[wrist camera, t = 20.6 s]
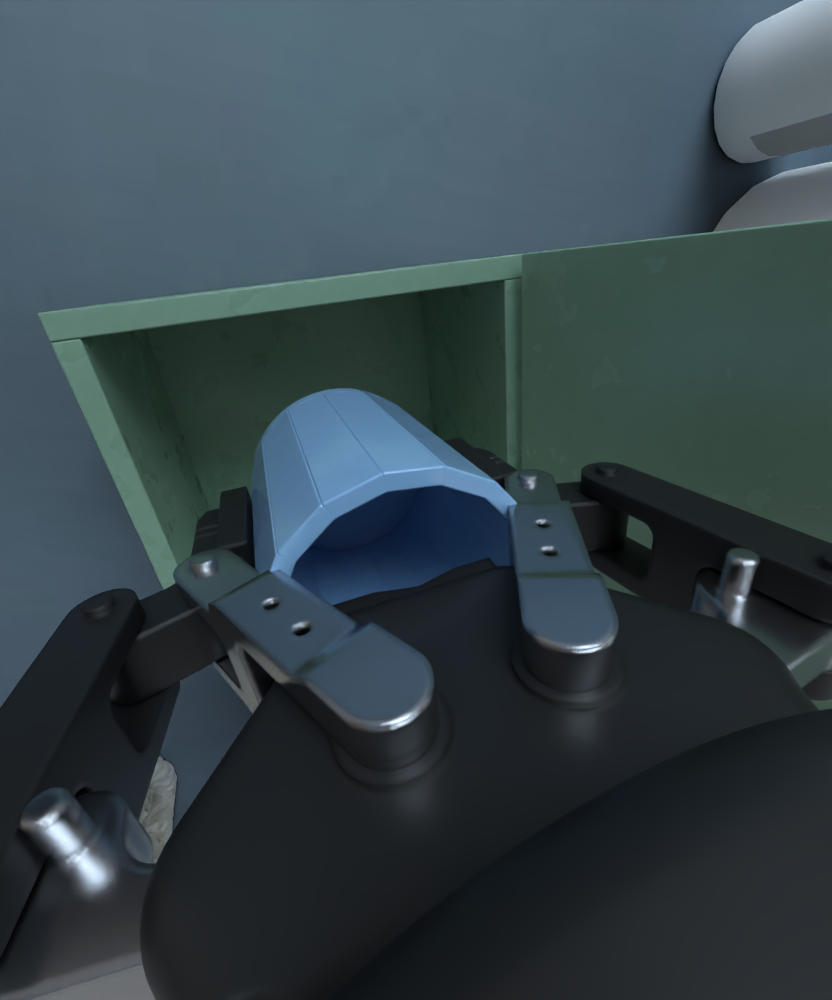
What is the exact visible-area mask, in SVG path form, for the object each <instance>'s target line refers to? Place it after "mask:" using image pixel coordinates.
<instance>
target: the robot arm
mask: <svg viewBox="0 0 832 1000" xmlns="http://www.w3.org/2000/svg"><path fill="white" fill-rule="evenodd" d="M444 442H446V443H447V444H448V445H449V446H451V447H452V448H453V449H455V450H456V451H457V452H458V453H460V454H461V455H462V456H464V457H465V458H466V459H467V460H469V461H470V462H471V463H473V464H474V465H475V466H477V467H478V468H479V469H480V470H482V471H483V472H484V473H486V474H487V475H488V476H489V477H491V478H492V479H493V480H495V481H496V482H497V483H498V484H499V485H500V486H501V487H502V488H503V489H504V490H505V491H506V492H507V493H508V494H509V495H510V496H511V497H512V498H513V499H514V500H515V501H516V502H517V504H514V505H510V506H509V522H508V551H509V566H496V565H495V564H494V563H493V561H492V560H491V559H490V558H489V557H488V558H485V559H482V560H478V561H475V562H472V563H469V564H465V565H462V566H459V567H455V568H453V569H451V570H449V571H447V572H445V573H443V574H441V575H439V576H437V577H435V578H433V579H431V580H430V581H428V582H426V583H424V584H422V585H420V586H416V587H410V588H403V589H395V590H388V591H380V592H374V593H370V594H367V595H364V596H360V597H357V598H354V599H351V600H347V601H344V602H341V603H337V604H334V605H331V604H330V603H328V602H327V601H325V600H324V599H322V598H321V597H319V596H318V595H316V594H315V593H313V592H312V591H311V590H309V589H308V588H306V587H305V586H303V585H302V584H300V583H299V582H297V581H296V580H294V579H293V578H291V577H290V576H289V575H287V574H286V573H284V572H283V571H281V570H280V569H279V570H275V571H269V570H267V571H266V572H264V573H262V574H260V575H259V571H257V570H256V569H255V555H254V533H253V512H252V501H251V497H250V494H249V491H248V489H247V487H246V486H244V487H240V488H235V489H231V490H226V491H222V492H221V495H220V505H219V508H218V509H214V510H210V511H206V512H205V513H204V514H203V516H202V517H201V518H200V519H199V520H198V521H197V526H196V532H195V537H194V538H195V539H194V542H193V548H192V553H191V556H190V557H188V558H187V559H185V560H184V561H182V562H181V563H180V564H179V565H178V566H177V567H176V568H175V570H174V572H173V578H174V580H175V582H176V583H174V584H173V585H171V586H170V587H168V588H166V589H164V590H162V591H160V592H158V593H156V594H153V595H151V596H149V597H147V598H144V599H142V600H140V601H139V599H138V597H137V595H136V593H135V592H134V591H133V590H131V589H124V588H122V589H113V590H109V591H105V592H102V593H100V594H97V595H95V596H93V597H91V598H89V599H87V600H85V601H83V602H82V603H80V604H79V605H77V606H76V607H75V608H73V609H72V610H71V611H70V612H69V613H68V614H67V616H66V617H65V618H64V620H63V621H62V622H61V624H60V625H59V627H58V628H57V629H56V631H55V632H54V634H53V635H52V636H51V638H50V639H49V641H48V642H47V643H46V645H45V646H44V648H43V649H42V650H41V652H40V653H39V655H38V656H37V657H36V659H35V660H34V662H33V663H32V664H31V666H30V667H29V669H28V670H27V671H26V673H25V674H24V676H23V677H22V678H21V680H20V681H19V683H18V684H17V685H16V687H15V688H14V690H13V691H12V692H11V694H10V695H9V697H8V698H7V699H6V701H5V702H4V704H3V705H2V706H1V708H0V1000H832V709H825V710H819V709H818V708H817V707H816V706H815V705H814V703H813V702H812V701H811V700H818V701H823V700H830V699H832V543H829V542H826V541H824V540H821V539H818V538H816V537H813V536H810V535H808V534H805V533H803V532H800V531H797V530H795V529H792V528H789V527H787V526H784V525H781V524H779V523H776V522H773V521H771V520H768V519H765V518H763V517H760V516H758V515H755V514H752V513H750V512H747V511H744V510H742V509H739V508H736V507H734V506H731V505H728V504H726V503H723V502H720V501H718V500H715V499H712V498H710V497H707V496H705V495H702V494H699V493H697V492H694V491H691V490H689V489H686V488H683V487H681V486H678V485H675V484H673V483H670V482H667V481H665V480H662V479H659V478H657V477H654V476H652V475H649V474H646V473H644V472H641V471H638V470H636V469H633V468H630V467H628V466H625V465H622V464H618V463H612V462H597V463H592V464H588V465H586V466H584V467H583V468H582V470H581V481H579V482H568V483H555V480H554V477H553V476H552V475H551V474H550V473H548V472H545V471H542V470H536V469H522V470H517V469H515V468H514V467H512V466H511V465H509V464H508V463H507V462H504V460H502V459H501V458H498V457H497V456H496V455H495V454H493V453H492V452H490V451H488V450H484V449H480V448H474V447H472V446H471V445H470V444H468V443H467V442H465V441H464V440H462V439H461V438H455V439H451V440H446V441H444ZM629 515H630V516H632V517H634V518H636V519H638V520H640V521H642V522H644V523H645V524H646V525H647V526H648V527H649V528H650V530H651V532H652V535H653V542H652V548H651V549H649V548H647V547H645V546H644V545H642V544H640V543H638V542H636V541H634V540H632V539H630V538H629V537H627V536H626V534H627V526H628V518H629ZM593 567H594V568H595V569H597V570H598V571H600V572H601V573H603V574H605V575H606V576H608V577H609V578H611V579H612V580H614V581H615V582H617V583H618V584H620V585H622V586H623V587H625V588H626V589H628V590H629V591H631V592H632V593H634V594H636V595H637V596H635V595H631V594H628V593H624V592H620V591H617V590H613V589H610V588H607V587H606V584H605V582H604V579H603V577H602V575H601V574H599V573H595V571H594V569H593ZM638 596H639V597H638ZM209 664H212V665H213V667H214V668H215V669H216V670H217V671H218V672H219V674H220V675H221V676H222V677H223V678H224V679H225V681H226V682H227V683H228V684H229V685H230V686H231V688H232V689H233V690H234V691H235V692H236V693H237V695H238V696H239V697H240V698H241V699H242V700H243V702H244V703H245V704H246V706H247V707H248V708H249V710H250V712H251V713H252V716H251V717H250V719H249V720H248V721H247V723H246V724H245V726H244V727H243V729H242V730H241V732H240V733H239V735H238V736H237V738H236V739H235V741H234V742H233V744H232V745H231V747H230V748H229V750H228V751H227V752H226V754H225V755H224V757H223V758H222V760H221V761H220V763H219V764H218V766H217V767H216V769H215V770H214V772H213V773H212V775H211V776H210V778H209V779H208V780H207V782H206V783H205V785H204V786H203V788H202V789H201V791H200V792H199V794H198V795H197V797H196V798H195V800H194V801H193V803H192V804H191V806H190V807H189V808H188V810H187V811H186V813H185V814H184V816H183V817H182V819H181V820H180V822H179V823H178V825H177V826H176V828H175V829H174V831H173V833H172V834H171V836H170V837H169V839H168V841H167V842H166V844H165V845H164V847H163V850H162V852H161V854H160V856H159V858H158V860H157V862H156V863H152V858H153V844H152V840H151V838H150V836H149V834H148V833H147V832H146V830H145V829H144V827H143V826H142V824H141V823H140V822H139V818H140V815H141V811H142V808H143V805H144V802H145V799H146V795H147V792H148V789H149V786H150V782H151V779H152V776H153V773H154V770H155V766H156V763H157V760H158V757H159V754H160V750H161V747H162V744H163V741H164V738H165V734H166V731H167V728H168V725H169V722H170V718H171V715H172V712H173V709H174V706H175V702H176V699H177V696H178V693H179V689H180V682H179V681H180V680H182V679H184V678H186V677H188V676H189V675H191V674H193V673H195V672H197V671H199V670H200V669H202V668H204V667H206V666H208V665H209Z"/></svg>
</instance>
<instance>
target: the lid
mask: <svg viewBox="0 0 832 1000" xmlns="http://www.w3.org/2000/svg"><path fill="white" fill-rule="evenodd" d="M597 462H612V463H618V464H622V465H625V466H628V467H630V468H633V469H636V470H638V471H641V472H644V473H646V474H649V475H652V476H654V477H657V478H659V479H662V480H665V481H667V482H670V483H673V484H675V485H678V486H681V487H683V488H686V489H689V490H691V491H694V492H697V493H699V494H702V495H705V496H707V497H710V498H712V499H715V500H718V501H720V502H723V503H726V504H728V505H731V506H734V507H736V508H739V509H742V510H744V511H747V512H750V513H752V514H755V515H758V516H760V517H763V518H765V519H768V520H771V521H773V522H776V523H779V524H781V525H784V526H787V527H789V528H792V529H795V530H797V531H800V532H803V533H805V534H808V535H810V536H813V537H816V538H818V539H821V540H824V541H826V542H829V543H832V218H830V219H822V220H813V221H804V222H795V223H786V224H778V225H769V226H760V227H751V228H743V229H734V230H725V231H716V232H707V233H699V234H690V235H681V236H672V237H663V238H655V239H646V240H637V241H628V242H619V243H611V244H602V245H593V246H584V247H576V248H567V249H558V250H549V251H540V252H532V253H524V254H522V469H536V470H542V471H545V472H548V473H550V474H551V475H552V476H553V477H554V480H555V483H568V482H579V481H581V470H582V468H583V467H584V466H586V465H588V464H592V463H597ZM626 536H627V537H629V538H630V539H632V540H634V541H636V542H638V543H640V544H642V545H644V546H645V547H647V548H649V549H651V548H652V542H653V535H652V532H651V530H650V528H649V527H648V526H647V525H646V524H645V523H644V522H642V521H640V520H638V519H636V518H634V517H632V516H630V515H629V518H628V526H627V534H626ZM593 569H594V571H595V573H599V574H601V575H602V577H603V579H604V582H605V584H606V587H607V588H610V589H613V590H617V591H620V592H624V593H628V594H631V595H635V596H637V595H636V594H634V593H632V592H631V591H629V590H628V589H626V588H625V587H623V586H622V585H620V584H618V583H617V582H615V581H614V580H612V579H611V578H609V577H608V576H606V575H605V574H603V573H601V572H600V571H598V570H597V569H595V568H594V567H593ZM638 597H639V596H638ZM811 701H812V702H813V703H814V705H815V706H816V707H817V708H818V709H819V710H825V709H832V699H830V700H823V701H818V700H811Z"/></svg>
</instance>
